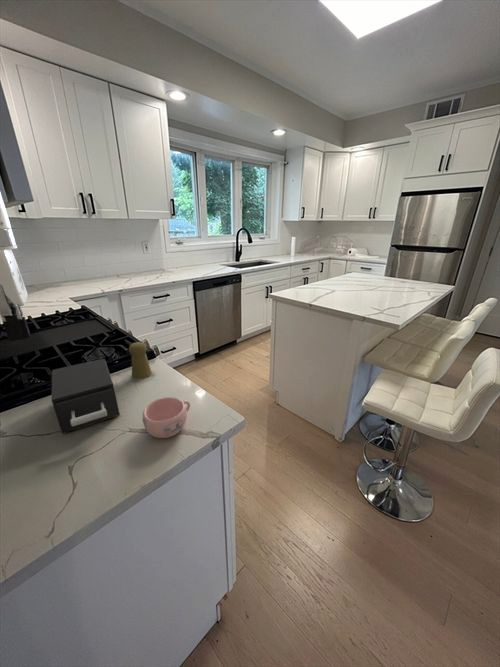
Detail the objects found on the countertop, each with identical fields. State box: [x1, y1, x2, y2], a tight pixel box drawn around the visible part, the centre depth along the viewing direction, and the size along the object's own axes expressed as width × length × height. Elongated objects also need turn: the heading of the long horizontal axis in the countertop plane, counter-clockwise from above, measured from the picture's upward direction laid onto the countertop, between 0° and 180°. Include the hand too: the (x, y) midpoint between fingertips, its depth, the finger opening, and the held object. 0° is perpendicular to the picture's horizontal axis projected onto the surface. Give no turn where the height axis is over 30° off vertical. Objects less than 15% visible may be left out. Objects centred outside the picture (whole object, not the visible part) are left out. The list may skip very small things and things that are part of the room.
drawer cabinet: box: [51, 358, 120, 434], centre depth 73 cm, size 16×13×10 cm
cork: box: [128, 341, 152, 380], centre depth 88 cm, size 6×6×11 cm
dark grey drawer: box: [56, 388, 118, 434], centre depth 69 cm, size 20×11×8 cm, turn 33°
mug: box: [142, 396, 191, 439], centre depth 67 cm, size 12×10×6 cm
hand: (20, 338), depth 55 cm, fingers closed
